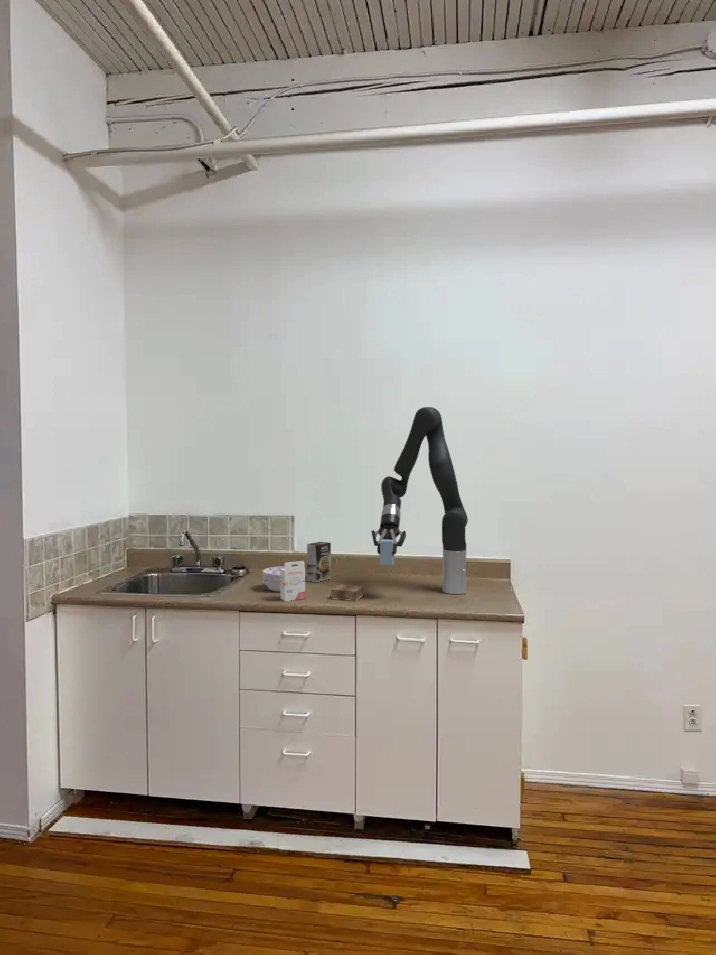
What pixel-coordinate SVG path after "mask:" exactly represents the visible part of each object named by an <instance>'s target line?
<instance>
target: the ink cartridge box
mask: <svg viewBox="0 0 716 955" xmlns="http://www.w3.org/2000/svg"><path fill="white" fill-rule="evenodd" d="M294 565H295V566H294ZM296 565H297V566H296ZM284 566H285V568H284V569H280V591H279V592H280V595H279V596H280V600H282V601H284V602H291V600H292V601H299V599H300V600H306V569H305V561H304V560H298V561H290V562H287V561H286V562H284Z"/></svg>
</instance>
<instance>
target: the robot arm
mask: <svg viewBox="0 0 716 955" xmlns="http://www.w3.org/2000/svg"><path fill="white" fill-rule="evenodd" d="M425 438H426V440H427V444H428V466H429V471H430V474H431V478H432V481H433V483H434V485H435V487H436V490H437V491H438V493H439V494H438V495H439V496H440V498H441V502H442V505H443V509H444V514H443V516H442V520H441V542H442V586H441V588H442V589H441V590H442V592H443V593H445V594H448V595H449V594H450V595H462V594H466V591H467V590H466V589H467V588H466V587H467V586H466V585H467V542H466V527H467V524H468V520H469V519H468V514H467V511H466V510H465V506H464V504H463V501H462V498H461V496H460V492H459V485H458V482H457V477H456V472H455V469H454V464H453V461H452V458H451V454H450V451H449V448H448V445H447V441H446V436H445V431H444V425H443V421H442V415H441V412H440V411H439V410H438V409H436V408H435V407H432V406H431V407H430V406H424V407H420V408H419V409H418V410H416V412H415V414H414V418H413V421H412V425H411V427H410V431H409V433H408V436H407V438H406V442H405V443H404V445H403V446H404V447H403V448H402V451H401V452H400V455H399V457H398V458H397V461H396V462H395V464H394V467H393V471H394V472H395V473H396V474H397V475H399V476H400V477H401V479H398V478H395V477H393V476H389V475H388V476H386V477H384V478H383V479H382V482H381V484H380V486H381V494H382V499H383V505H382V511H381V516H380V524H379V528H378V530H373V529H372V530H370V531H371V536H372V541H373V545H374V547H376V548H377V549H376V552H377V554H378V555H379V556H380V541H381V540H383V539H387V540H393V543H394V545H393V549H392V554H393V555H394V556H395V555H397V552H398V547H400V548H401V547H403V544H404V543H405V540H406V538H407V532H406V530H403V531H401V530H400V523H401V508H402V507H401V506H402V499H401V498H402V497H404V496H405V495H406V493H407V489H408V484H409V479H410V476H411V473H412V471H413V469H414V468H415V465H416V463H417V460H418V457H419V454H420V450H421V446H422V443H423V441H424V439H425ZM378 535H379V538H378V539H379V540H377V537H378ZM399 535H400V538H399V539H398V541H397V537H398V536H399Z"/></svg>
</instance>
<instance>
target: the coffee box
mask: <svg viewBox="0 0 716 955" xmlns="http://www.w3.org/2000/svg"><path fill="white" fill-rule="evenodd" d="M331 548H332V543H331V542H326V541H317V542H311V543H307V544H306V581H307V582H311V581H312V583H316V582H318V583H321V582H320V581H322V582H325V581H324V580H326V581H329V580H328V579H330V580H331V576H332V573H331V572H332V570H331V566H332V565H331V564H332V562H331V559H332V558H331V556H332V553H331V552H332V551H331V550H332V549H331Z"/></svg>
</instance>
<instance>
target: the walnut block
mask: <svg viewBox="0 0 716 955" xmlns="http://www.w3.org/2000/svg"><path fill="white" fill-rule="evenodd" d="M363 594H364V595H365V586H364V585H356V584H355V585H353V584H343V583H341V584H338V585H336V586H335V587H333V588H332V589H330V599H331V598H337V599H351V600H356V599H358V598H359V597H360V596H362V595H363ZM362 597H363V596H362ZM358 600H359V599H358Z"/></svg>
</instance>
